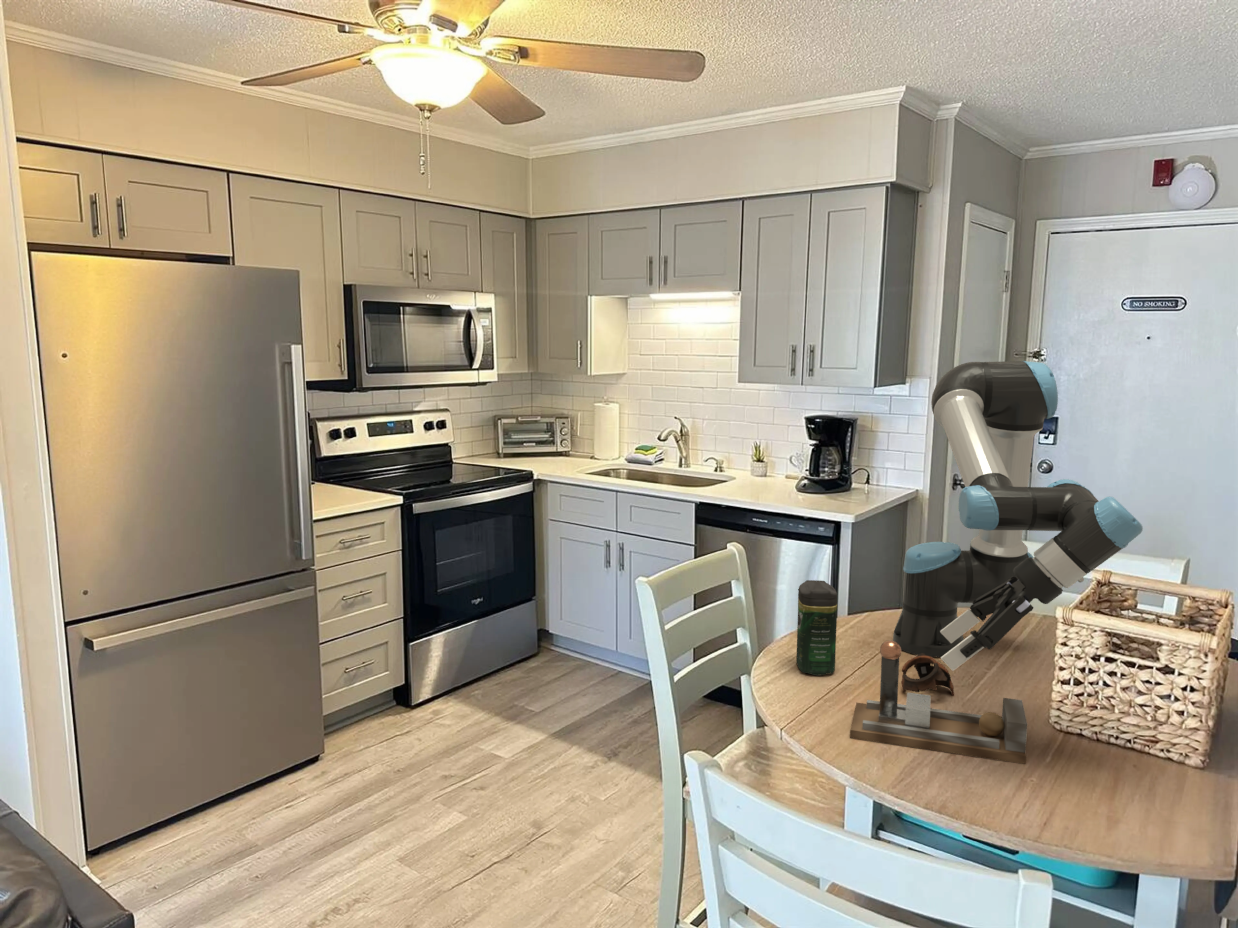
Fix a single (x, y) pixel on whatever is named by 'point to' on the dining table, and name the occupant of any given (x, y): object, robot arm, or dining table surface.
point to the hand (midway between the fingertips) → (945, 650)
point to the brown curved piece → (926, 675)
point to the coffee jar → (816, 627)
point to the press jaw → (915, 703)
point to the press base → (951, 731)
